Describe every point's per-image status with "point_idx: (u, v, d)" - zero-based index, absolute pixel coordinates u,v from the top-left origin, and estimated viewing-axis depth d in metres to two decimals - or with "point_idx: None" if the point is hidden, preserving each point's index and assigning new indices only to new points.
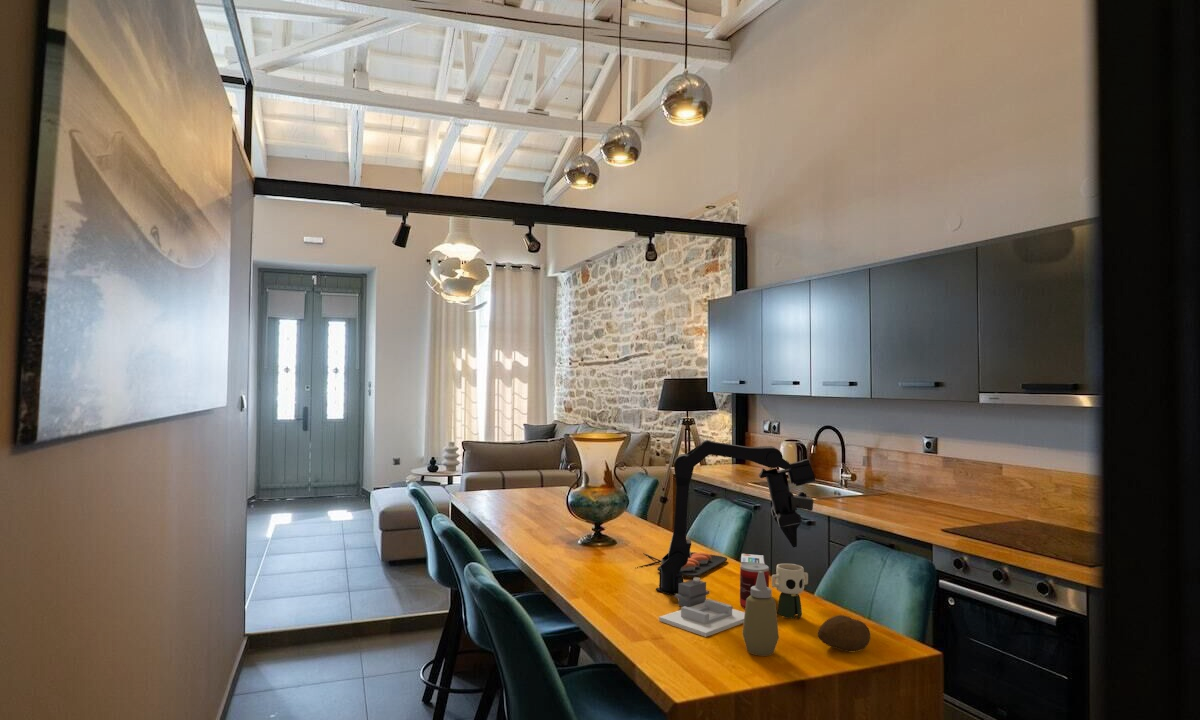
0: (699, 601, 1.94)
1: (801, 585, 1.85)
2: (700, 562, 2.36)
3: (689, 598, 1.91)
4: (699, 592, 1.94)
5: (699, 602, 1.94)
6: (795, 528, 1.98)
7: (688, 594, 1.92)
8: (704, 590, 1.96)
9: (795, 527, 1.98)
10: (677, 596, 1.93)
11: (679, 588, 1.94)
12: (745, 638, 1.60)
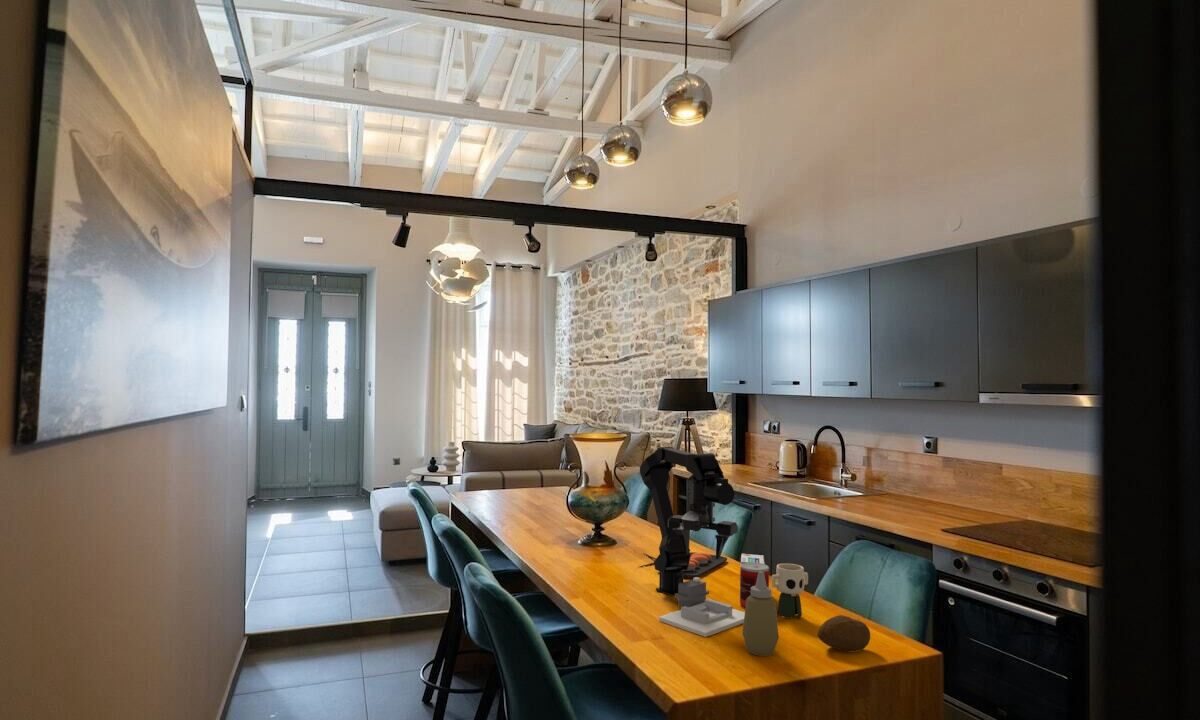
0: (699, 601, 1.94)
1: (801, 585, 1.85)
2: (700, 562, 2.36)
3: (689, 598, 1.91)
4: (699, 592, 1.94)
5: (699, 602, 1.94)
6: None
7: (688, 594, 1.92)
8: (704, 590, 1.96)
9: None
10: (677, 596, 1.93)
11: (679, 588, 1.94)
12: (745, 638, 1.60)
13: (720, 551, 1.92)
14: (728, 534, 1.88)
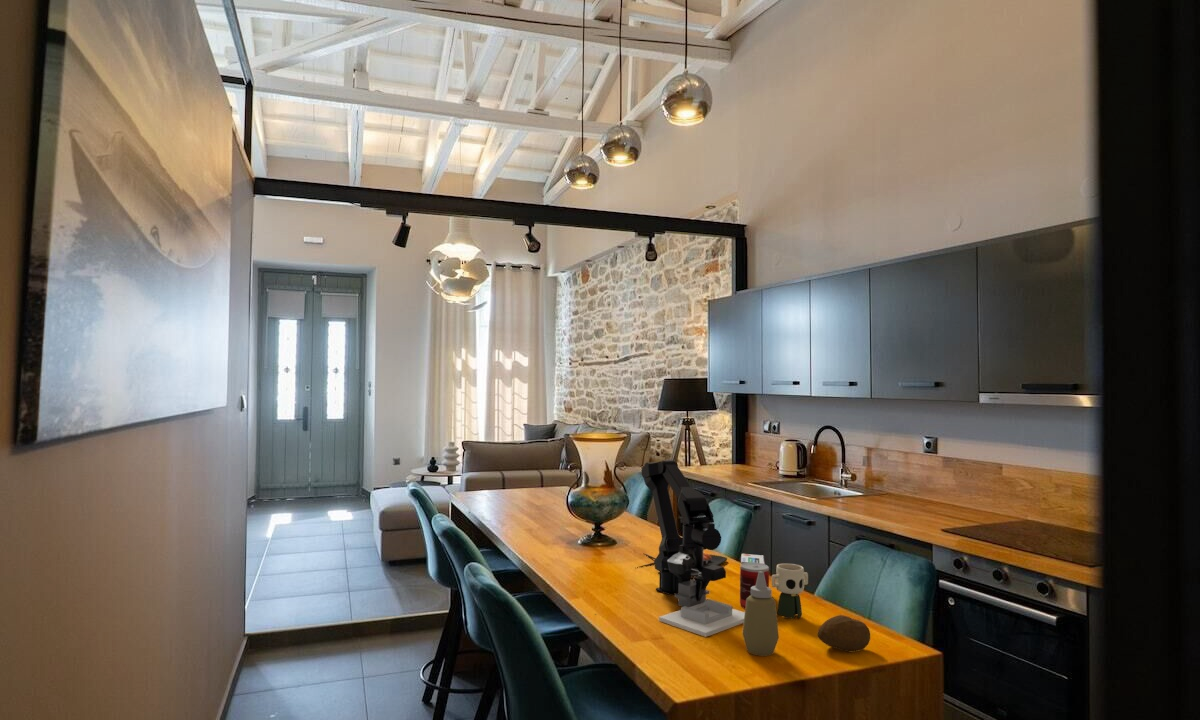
0: None
1: (801, 585, 1.85)
2: None
3: (689, 598, 1.91)
4: None
5: (699, 602, 1.94)
6: None
7: (688, 594, 1.92)
8: None
9: None
10: (677, 596, 1.93)
11: (679, 588, 1.94)
12: (745, 638, 1.60)
13: (700, 593, 1.93)
14: (712, 579, 1.87)
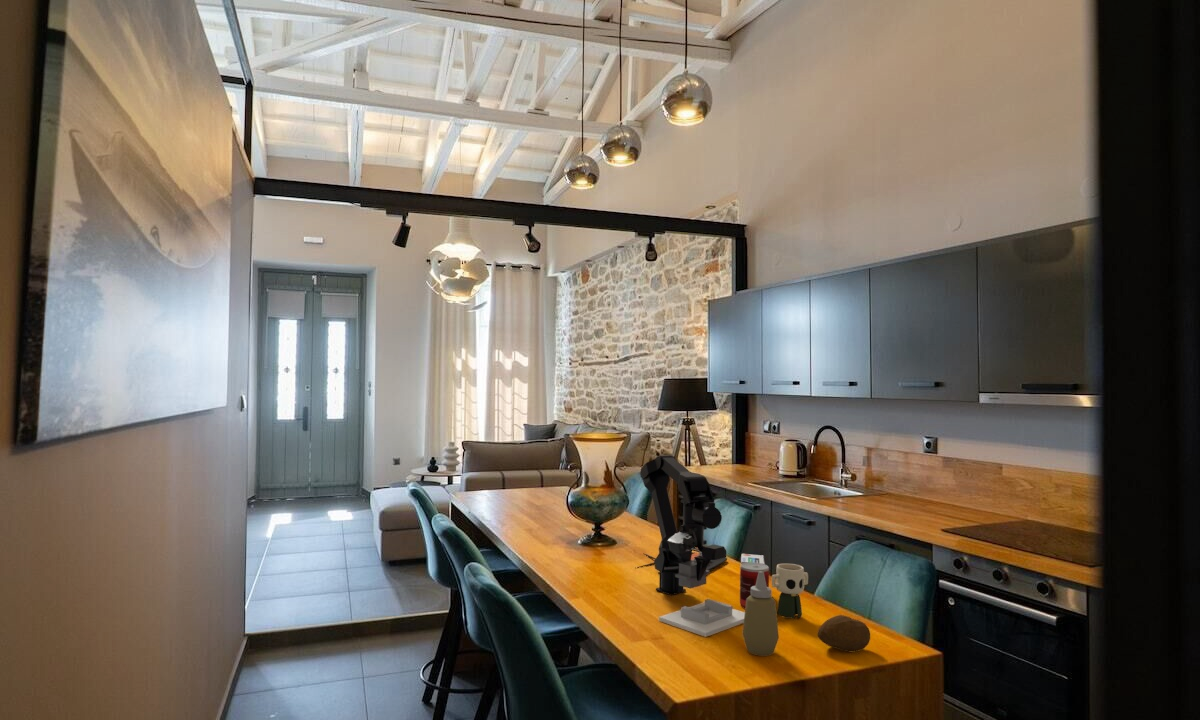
0: None
1: (801, 585, 1.85)
2: None
3: (690, 577, 1.91)
4: None
5: (700, 582, 1.94)
6: None
7: (689, 573, 1.92)
8: (705, 570, 1.96)
9: None
10: (678, 575, 1.93)
11: (680, 568, 1.94)
12: (745, 638, 1.60)
13: (701, 573, 1.93)
14: (712, 558, 1.87)
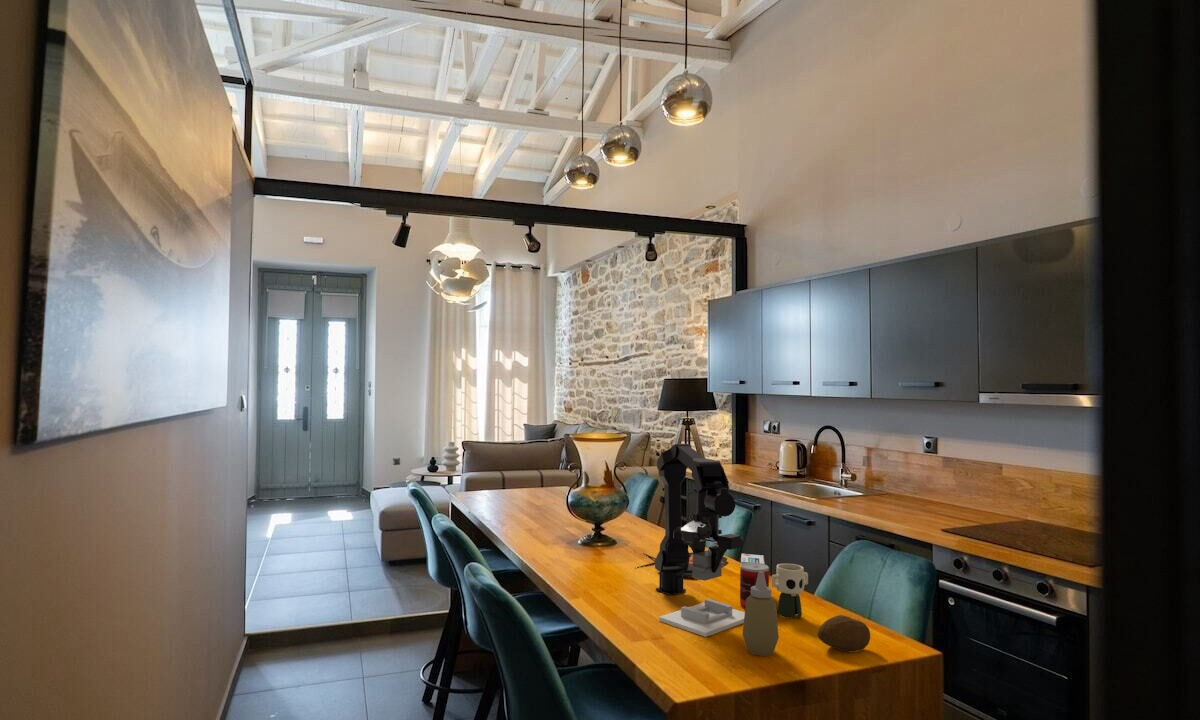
0: None
1: (801, 585, 1.85)
2: None
3: (704, 569, 1.80)
4: None
5: (715, 573, 1.83)
6: None
7: (703, 564, 1.80)
8: None
9: None
10: (691, 567, 1.81)
11: (693, 559, 1.83)
12: (745, 638, 1.60)
13: (716, 564, 1.82)
14: (728, 548, 1.76)
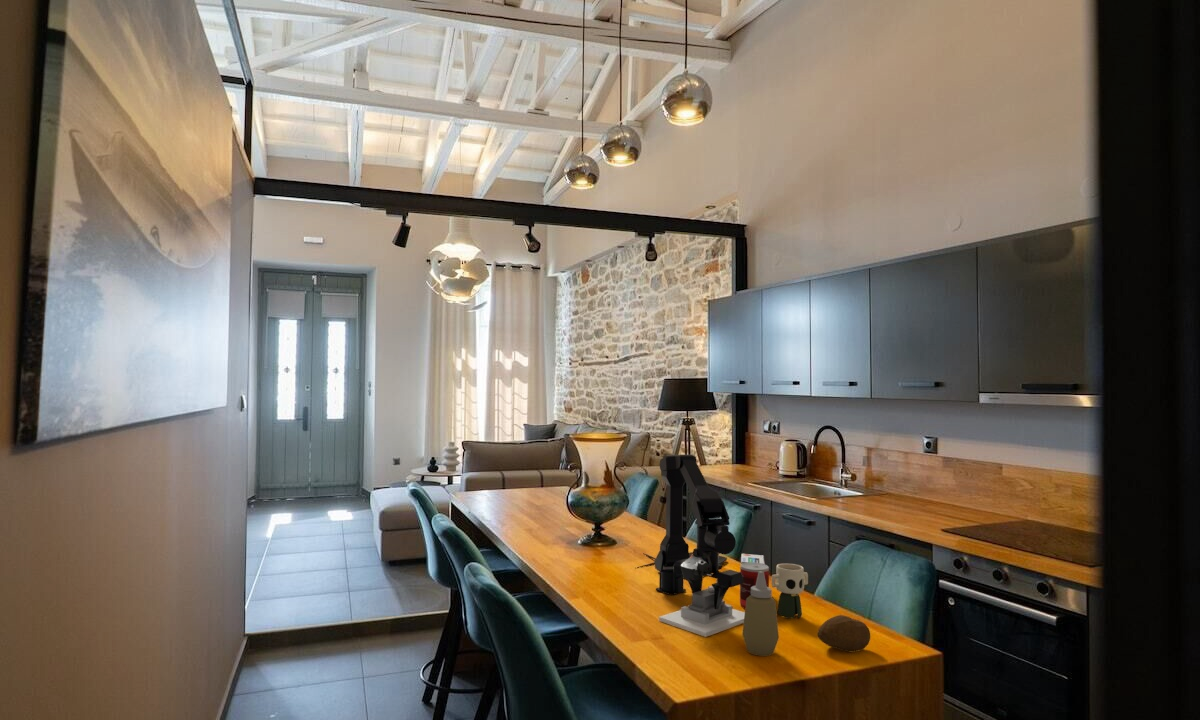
0: (714, 611, 1.82)
1: (801, 585, 1.85)
2: None
3: (704, 609, 1.79)
4: None
5: (714, 613, 1.82)
6: None
7: (703, 604, 1.79)
8: None
9: None
10: (691, 607, 1.80)
11: (693, 598, 1.82)
12: (745, 638, 1.60)
13: (719, 601, 1.80)
14: (728, 586, 1.75)
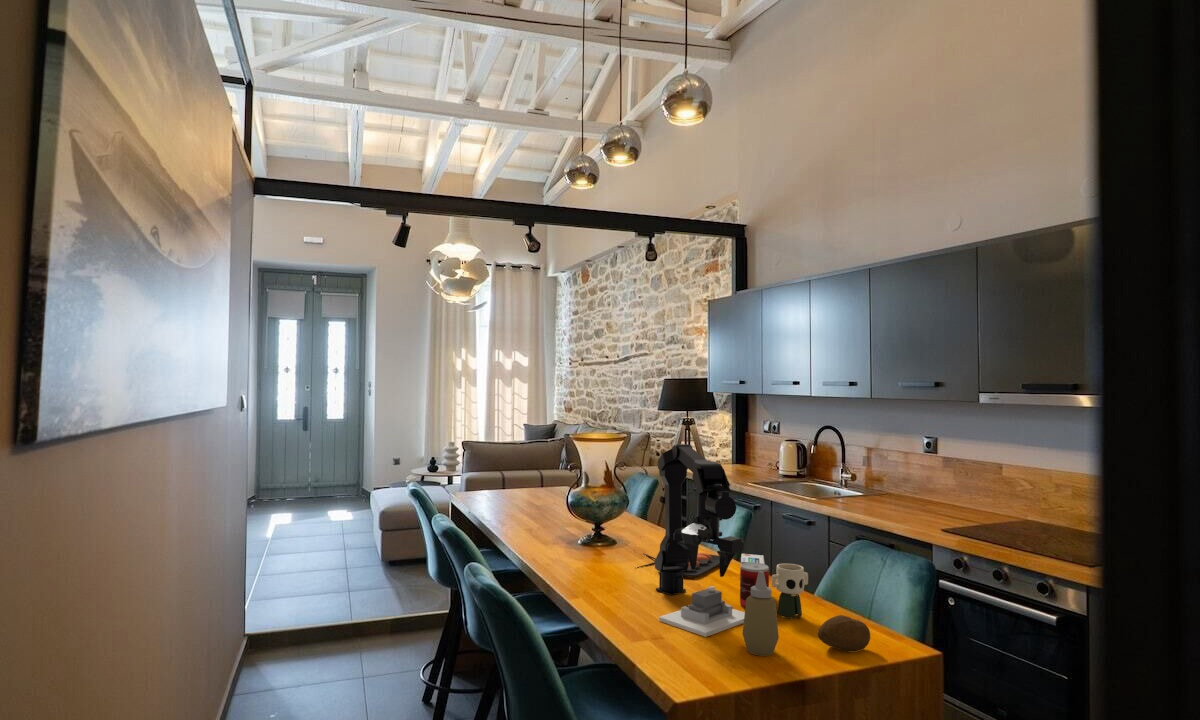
0: (714, 611, 1.82)
1: (801, 585, 1.85)
2: (700, 562, 2.36)
3: (704, 609, 1.79)
4: (714, 603, 1.82)
5: (714, 613, 1.82)
6: None
7: (703, 604, 1.79)
8: (719, 600, 1.83)
9: None
10: (691, 607, 1.80)
11: (693, 598, 1.82)
12: (745, 638, 1.60)
13: (724, 568, 1.80)
14: (729, 551, 1.75)
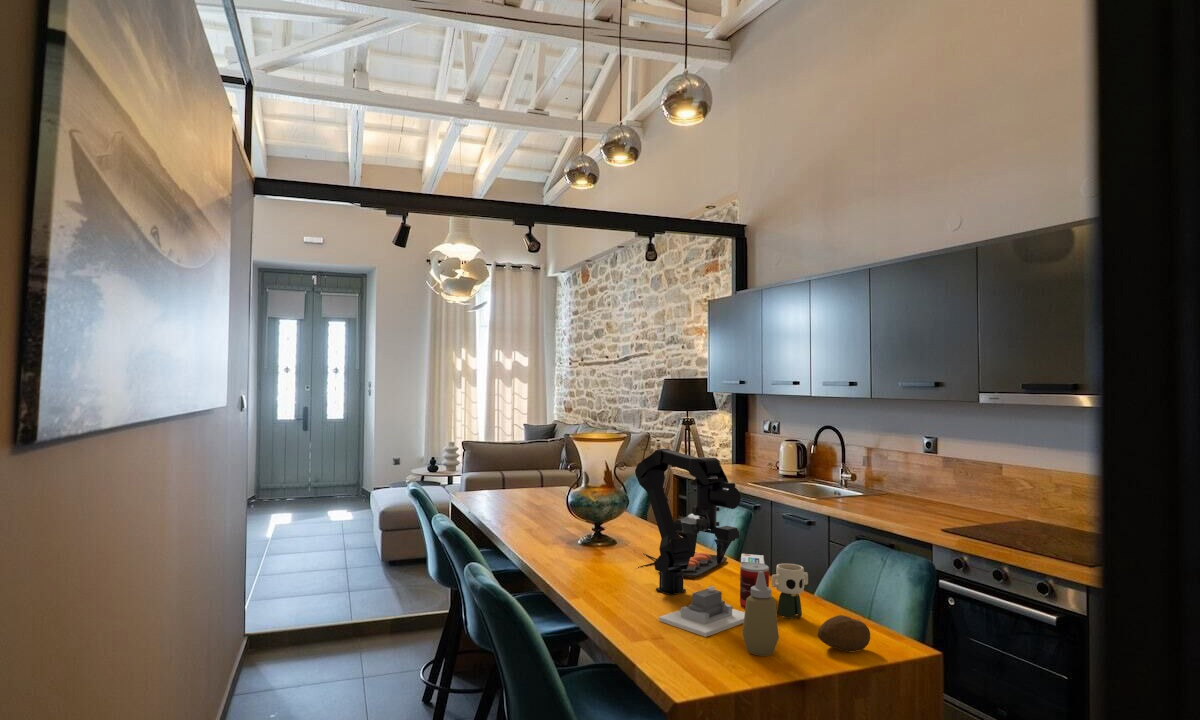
0: (714, 611, 1.82)
1: (801, 585, 1.85)
2: (700, 562, 2.36)
3: (704, 609, 1.79)
4: (714, 603, 1.82)
5: (714, 613, 1.82)
6: None
7: (703, 604, 1.79)
8: (719, 600, 1.83)
9: None
10: (691, 607, 1.80)
11: (693, 598, 1.82)
12: (745, 638, 1.60)
13: (721, 556, 1.92)
14: (725, 539, 1.88)
